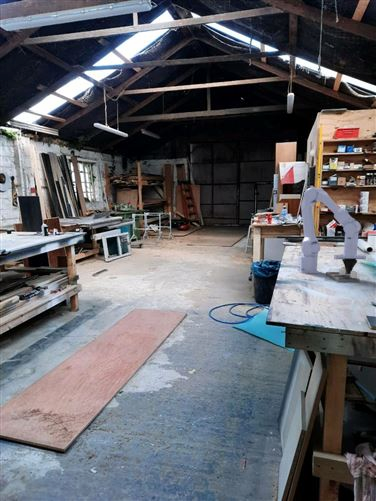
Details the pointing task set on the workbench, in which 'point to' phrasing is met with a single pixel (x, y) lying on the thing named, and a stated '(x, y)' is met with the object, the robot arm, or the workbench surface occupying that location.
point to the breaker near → (353, 274)
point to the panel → (341, 277)
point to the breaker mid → (342, 271)
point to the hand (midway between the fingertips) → (348, 273)
